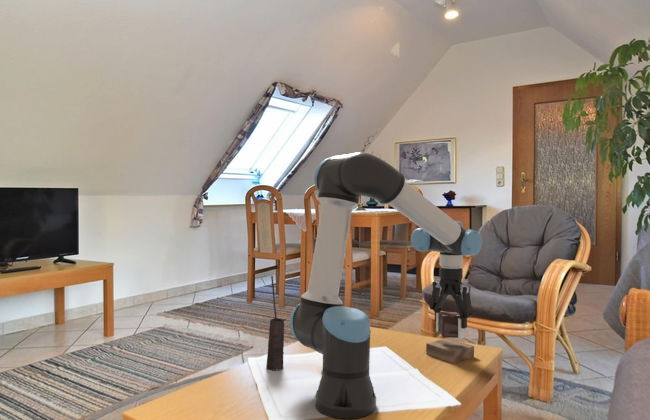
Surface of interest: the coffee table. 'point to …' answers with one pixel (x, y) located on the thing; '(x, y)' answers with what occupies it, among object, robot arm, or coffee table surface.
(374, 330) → the coffee table surface
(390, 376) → the coffee table surface
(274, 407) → the coffee table surface
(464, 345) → the walnut block
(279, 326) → the butter churn
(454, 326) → the box
